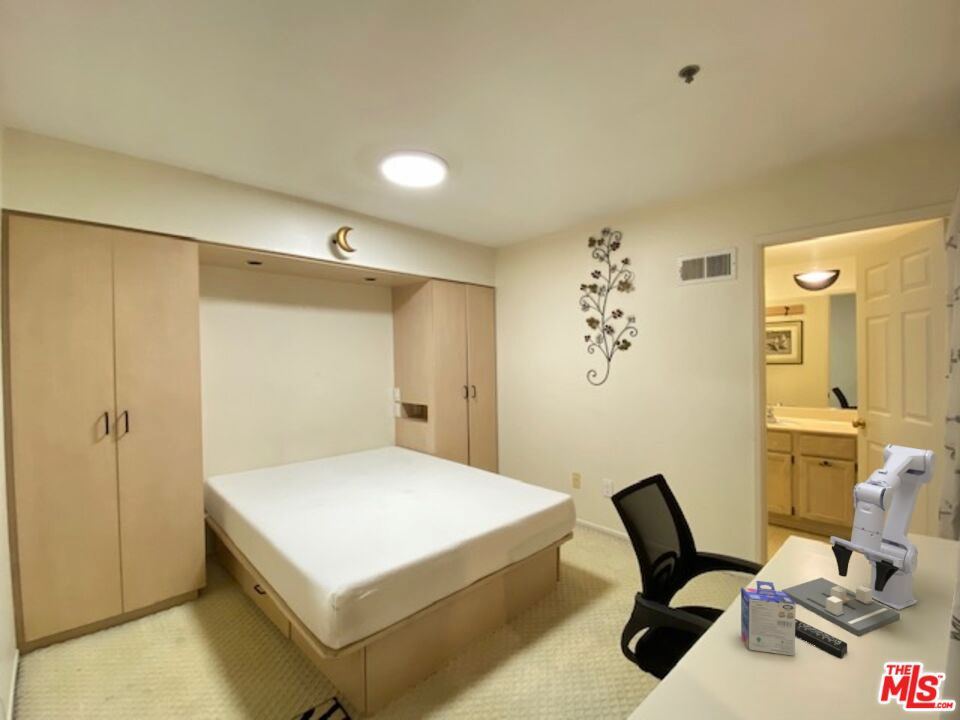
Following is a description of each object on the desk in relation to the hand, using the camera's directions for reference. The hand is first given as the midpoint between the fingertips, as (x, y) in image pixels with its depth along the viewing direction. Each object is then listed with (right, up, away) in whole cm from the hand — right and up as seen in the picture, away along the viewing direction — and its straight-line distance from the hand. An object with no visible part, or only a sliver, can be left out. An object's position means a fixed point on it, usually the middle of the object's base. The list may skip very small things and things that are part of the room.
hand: (859, 583), depth 107 cm
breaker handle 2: (+6, -8, +6) cm, 11 cm away
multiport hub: (-18, -10, -7) cm, 22 cm away
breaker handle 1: (-6, -8, +1) cm, 10 cm away
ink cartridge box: (-30, -10, -9) cm, 33 cm away
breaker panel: (-1, -9, +6) cm, 11 cm away
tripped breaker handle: (-1, -8, +6) cm, 10 cm away
